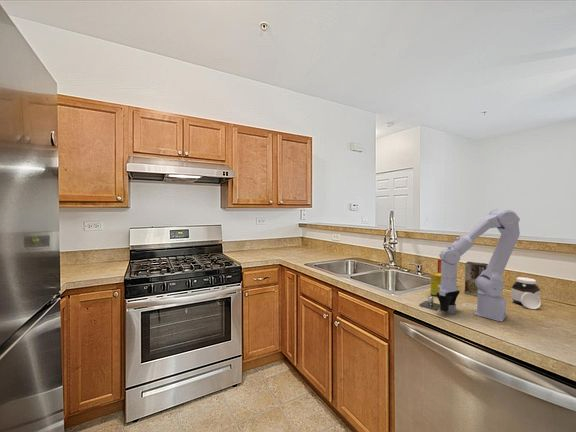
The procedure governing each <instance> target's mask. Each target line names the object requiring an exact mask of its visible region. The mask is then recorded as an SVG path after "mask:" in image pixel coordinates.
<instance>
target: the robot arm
mask: <svg viewBox="0 0 576 432" xmlns="http://www.w3.org/2000/svg"><path fill="white" fill-rule="evenodd" d="M520 220H521V219H520V216H518V214H517V213H516V211H513V210H510V209H506V210H503V209H493V210H491V211H489V213H488V214H485V216H483V218H482V219H481V221H479V222H478V223H477V224H476V225H475V226H474V227H473V228H472V229H471V230H470V231H469V232H468V233H467V234H466V235H460V236H457V237H456V238H455V241H453V243H451V244H450V245H447V246H446V248H444V249H442V250H441V251H440V254H439V259H440V258H441V260H442V265H441V285H438V287H439V288H440V290H439V293H436V296H437V297H436V298H437V299H438V301H439V304H440V306H441V310H442V311H445V312H447V311H448V308H449V303H450V302H454V303H455V304H456V301H457V298H458V296H459V295H460V294H461V293H460V292H461V291H460V290H458V285H457V284H458V283H457V278H458V276H457V275H458V263H459V262H460V260H461V257H462V256H463V255H464V254H465V253H466V252H468V251H469V250H470V249H471V248H472V247H473V246H474V241H476V240H477V239H478V238H480V237H481V236H482V235H483V234H485V233H486V232H487V231H488V230H490V229H497V231H499V233H500V237H499V239H498V242H497V244H496V246H495V248H494V251H493V252H492V255H491V257H490V260H489V262H488V263H487V264H488V266H487V269H486V270H484V271H482V272H481V275H480V276H479V277H477V278H476V280H475V285H476V287H477V288H478V296H476V297H477V299H476V300H477V301H476V302H477V303H476V310H475V312H473V315H475V316H478V317H482V318H485V319H489V320H494V321H496V322H497V321H498V322H501V323H502V322H503V321H504V320H505V319H506V317H507V298H506V297H503V296H500V295H502V294H503V292H504V283H505V280H504V277H503V273H504V272H505V269H506V267H507V264H508V262H509V260H510V257H511V255H512V252H513V250H514V248H515V246H516V244H517V242H518V239H519V237H520V233H521V232H520V224H519V223H520Z"/></svg>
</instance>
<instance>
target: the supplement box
mask: <svg viewBox="0 0 576 432" xmlns="http://www.w3.org/2000/svg"><path fill="white" fill-rule="evenodd" d="M438 285H441V273H438V272H435V271H434V272H432V273H431V274H430V296H432V297H436V298H438V297H437V296H436V293H439V290H440V288H439V287H438Z"/></svg>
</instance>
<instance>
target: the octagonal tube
mask: <svg viewBox="0 0 576 432" xmlns="http://www.w3.org/2000/svg"><path fill="white" fill-rule="evenodd" d="M439 311H440V313H441V314H445V315H449V316H451V315H453V316H455V315H456V314H457V303H456V302H455V303H454V302H450V303H449V308H448V311H447V312H445V311H442V310H441V306H440V308H439Z"/></svg>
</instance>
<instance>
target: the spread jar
mask: <svg viewBox="0 0 576 432" xmlns="http://www.w3.org/2000/svg"><path fill="white" fill-rule="evenodd" d="M515 279H516V282H514V283H513V284H512V286H511V293H510V294H511V299H512V301H513V302H514V303H516V304H517V305H520V306H524V307H525V308H526V309H529V310H536V309H539V308H541V305H542V301H541V289H540V287H539V285H537V280H536V279H534V278H530V277H523V276H521V277H520V276H519V277H516V278H515Z"/></svg>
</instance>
